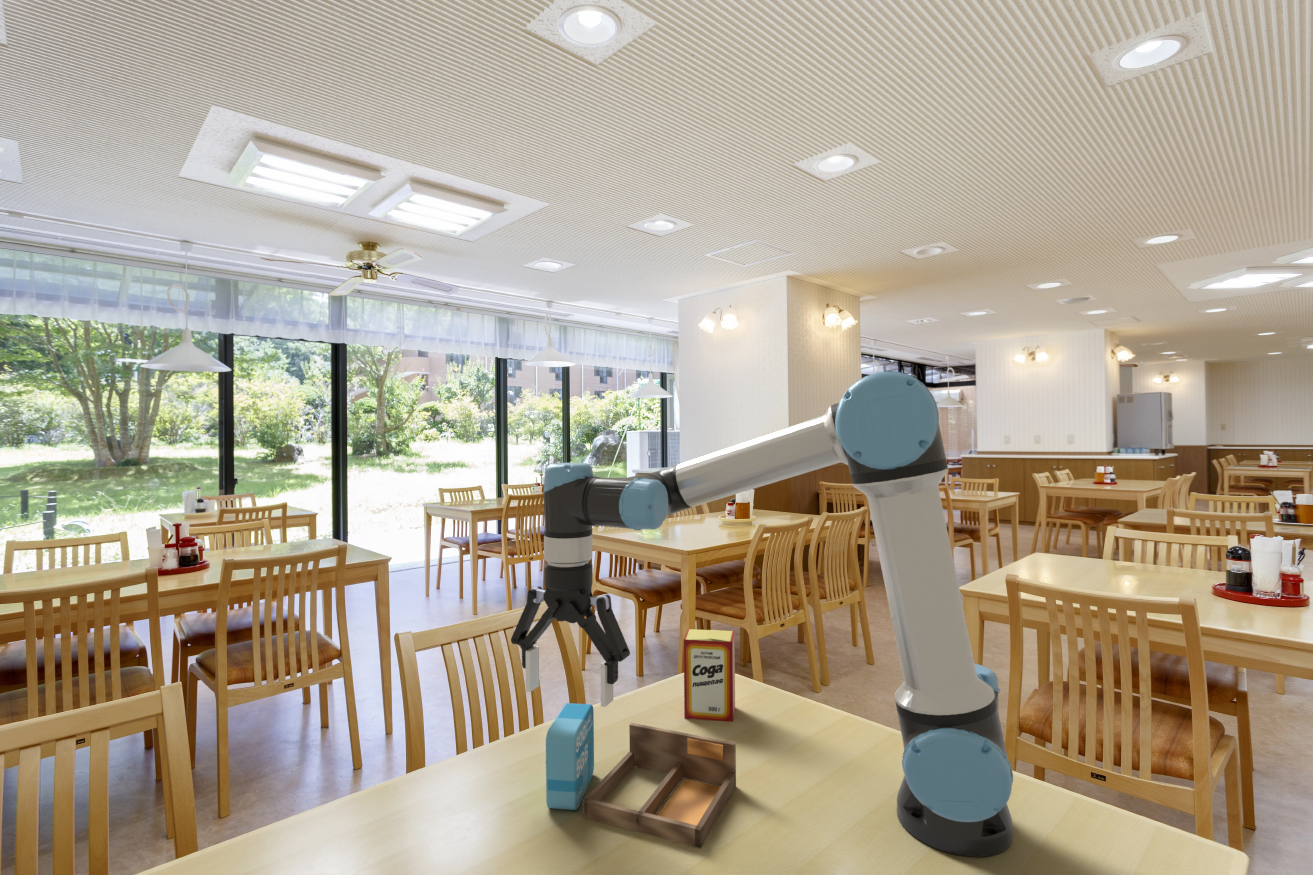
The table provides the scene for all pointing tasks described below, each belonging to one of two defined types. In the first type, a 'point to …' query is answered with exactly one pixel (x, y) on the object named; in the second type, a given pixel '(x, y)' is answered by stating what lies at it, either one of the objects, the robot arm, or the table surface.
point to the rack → (670, 785)
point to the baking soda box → (709, 675)
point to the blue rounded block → (569, 756)
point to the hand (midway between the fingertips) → (568, 695)
